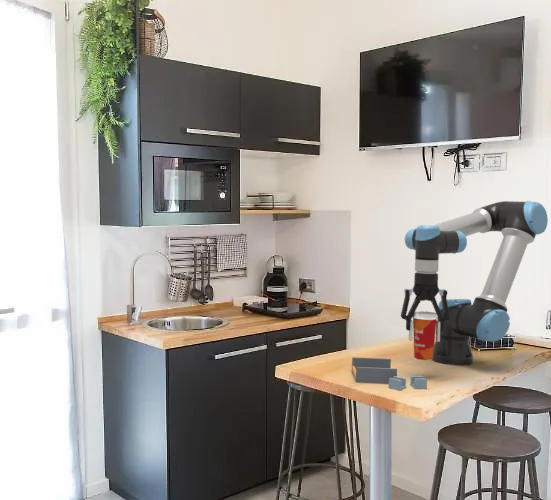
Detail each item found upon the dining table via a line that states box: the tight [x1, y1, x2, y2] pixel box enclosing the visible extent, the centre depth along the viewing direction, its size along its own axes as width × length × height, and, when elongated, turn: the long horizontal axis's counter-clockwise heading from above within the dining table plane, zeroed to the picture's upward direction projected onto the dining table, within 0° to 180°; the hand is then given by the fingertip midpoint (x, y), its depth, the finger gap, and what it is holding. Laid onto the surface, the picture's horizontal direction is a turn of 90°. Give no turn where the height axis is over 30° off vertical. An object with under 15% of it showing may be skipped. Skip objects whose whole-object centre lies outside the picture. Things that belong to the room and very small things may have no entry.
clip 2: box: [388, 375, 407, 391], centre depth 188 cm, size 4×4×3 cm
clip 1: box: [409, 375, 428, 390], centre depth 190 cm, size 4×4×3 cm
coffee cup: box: [412, 310, 438, 361], centre depth 200 cm, size 8×8×15 cm
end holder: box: [351, 356, 398, 385], centre depth 199 cm, size 13×14×5 cm
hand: (424, 340), depth 200 cm, fingers closed on coffee cup, 8 cm apart
